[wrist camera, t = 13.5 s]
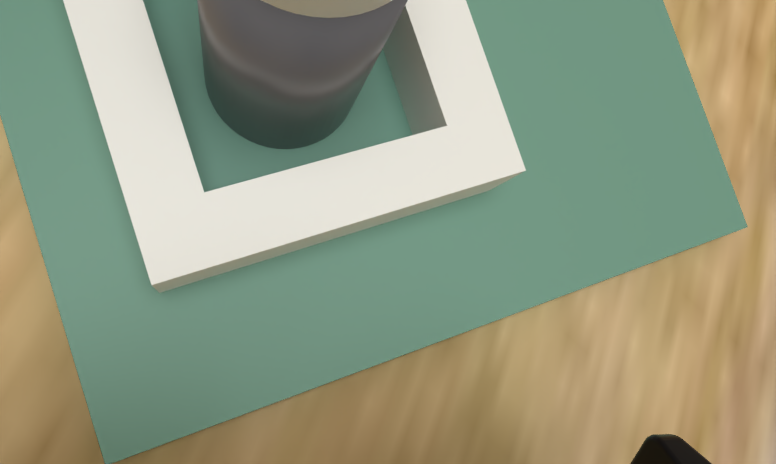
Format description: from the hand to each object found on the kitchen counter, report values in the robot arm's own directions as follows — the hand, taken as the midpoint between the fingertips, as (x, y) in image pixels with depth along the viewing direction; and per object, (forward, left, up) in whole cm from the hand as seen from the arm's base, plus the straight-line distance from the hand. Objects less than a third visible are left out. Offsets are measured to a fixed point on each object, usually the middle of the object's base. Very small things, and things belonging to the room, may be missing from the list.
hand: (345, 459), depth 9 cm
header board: (+8, -7, -14) cm, 17 cm away
